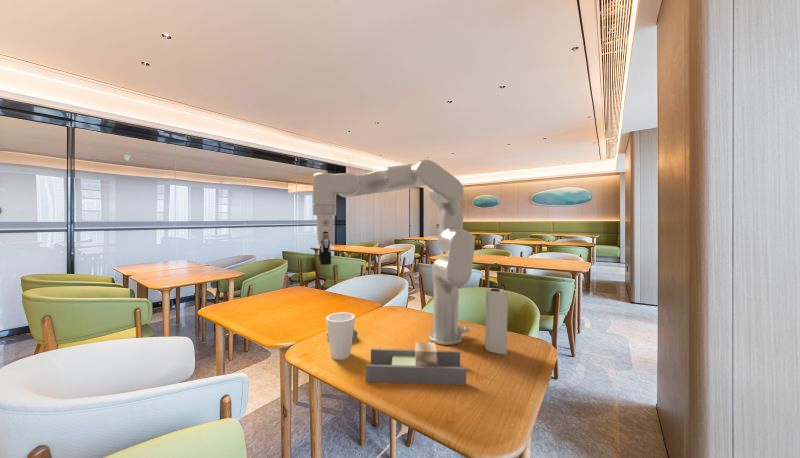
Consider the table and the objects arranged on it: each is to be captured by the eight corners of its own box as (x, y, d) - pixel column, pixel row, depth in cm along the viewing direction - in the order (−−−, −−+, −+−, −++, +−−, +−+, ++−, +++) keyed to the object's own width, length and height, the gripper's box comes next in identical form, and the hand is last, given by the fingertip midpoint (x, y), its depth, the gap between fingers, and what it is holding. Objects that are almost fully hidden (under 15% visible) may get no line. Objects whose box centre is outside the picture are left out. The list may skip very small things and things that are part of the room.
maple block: (434, 358, 90) (434, 342, 90) (436, 368, 84) (436, 351, 84) (415, 358, 90) (415, 342, 90) (415, 368, 84) (415, 351, 84)
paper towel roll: (483, 345, 106) (484, 287, 106) (499, 346, 106) (501, 287, 105) (488, 354, 99) (489, 292, 98) (506, 355, 99) (507, 292, 98)
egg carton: (332, 348, 104) (332, 336, 104) (325, 340, 111) (325, 329, 110) (359, 341, 110) (359, 330, 110) (351, 334, 116) (351, 324, 116)
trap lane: (459, 364, 92) (459, 350, 92) (465, 384, 81) (466, 368, 81) (371, 362, 93) (371, 348, 93) (365, 381, 82) (365, 366, 82)
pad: (415, 365, 92) (415, 355, 92) (415, 381, 83) (415, 370, 83) (392, 364, 92) (392, 355, 92) (390, 380, 83) (390, 370, 83)
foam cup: (340, 364, 92) (340, 323, 91) (320, 357, 97) (320, 318, 96) (360, 353, 100) (360, 315, 99) (340, 346, 105) (340, 310, 104)
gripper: (339, 210, 90) (338, 266, 90) (333, 211, 106) (333, 258, 107) (313, 210, 87) (313, 267, 88) (312, 211, 104) (312, 259, 105)
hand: (324, 262), depth 97 cm, fingers open, 9 cm apart
